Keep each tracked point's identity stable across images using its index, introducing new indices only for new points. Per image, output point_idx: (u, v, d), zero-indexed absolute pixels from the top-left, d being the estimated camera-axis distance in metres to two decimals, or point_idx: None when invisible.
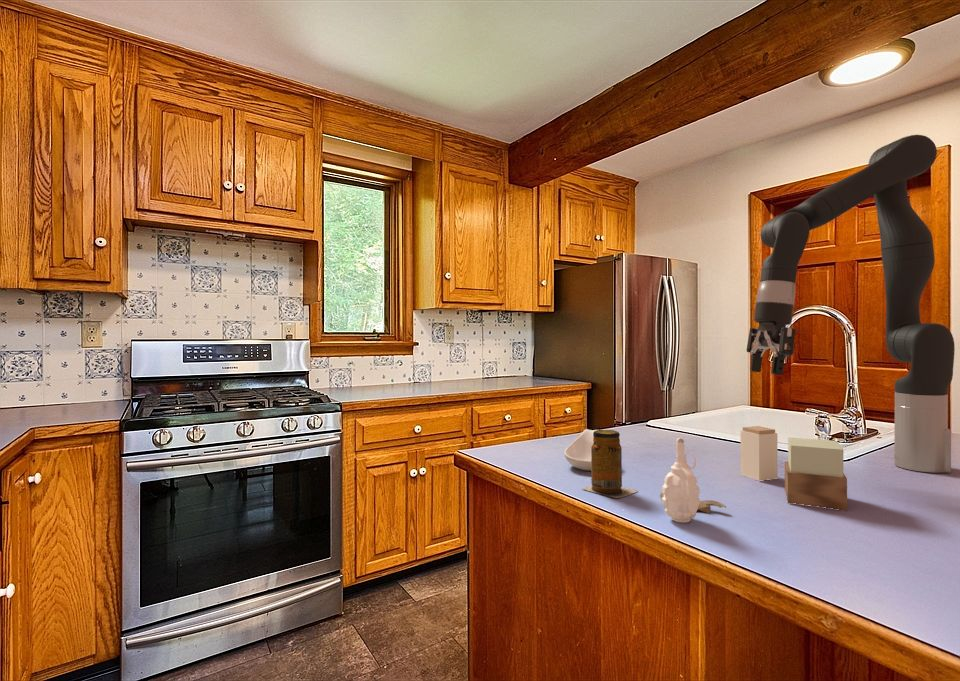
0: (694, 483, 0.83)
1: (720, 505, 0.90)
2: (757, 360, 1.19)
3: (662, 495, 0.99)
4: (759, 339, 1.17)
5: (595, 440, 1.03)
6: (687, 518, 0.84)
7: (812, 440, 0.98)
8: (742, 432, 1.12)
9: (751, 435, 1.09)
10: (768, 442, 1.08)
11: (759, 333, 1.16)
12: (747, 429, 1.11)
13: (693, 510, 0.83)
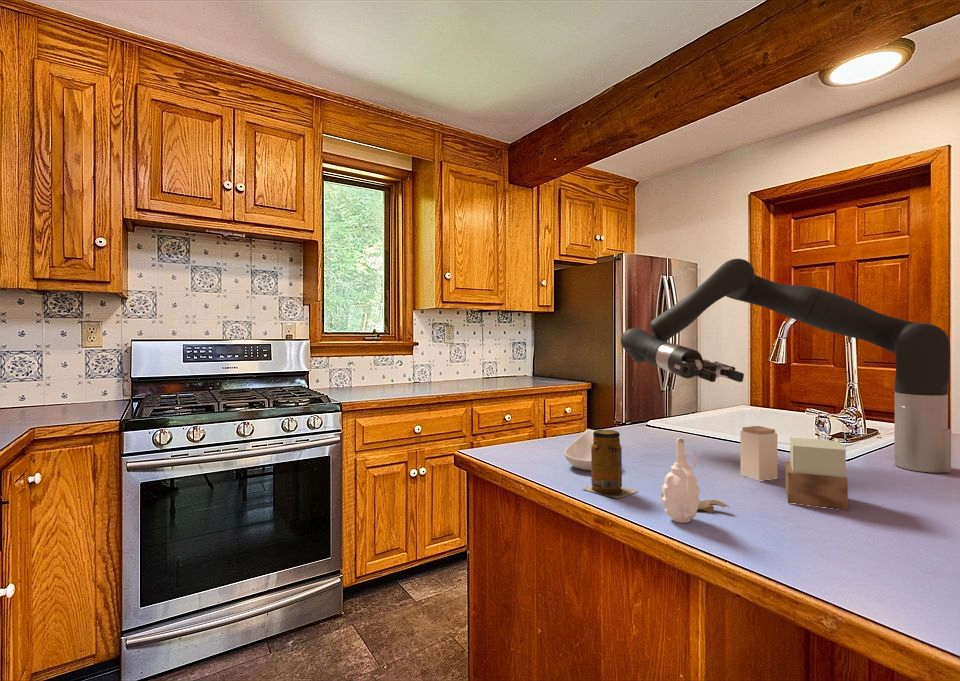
0: (694, 483, 0.83)
1: (723, 505, 0.90)
2: (731, 374, 1.20)
3: None
4: None
5: (595, 440, 1.03)
6: (687, 518, 0.84)
7: (814, 440, 0.98)
8: (742, 432, 1.12)
9: (751, 435, 1.09)
10: (768, 442, 1.08)
11: None
12: (747, 429, 1.11)
13: (693, 510, 0.83)
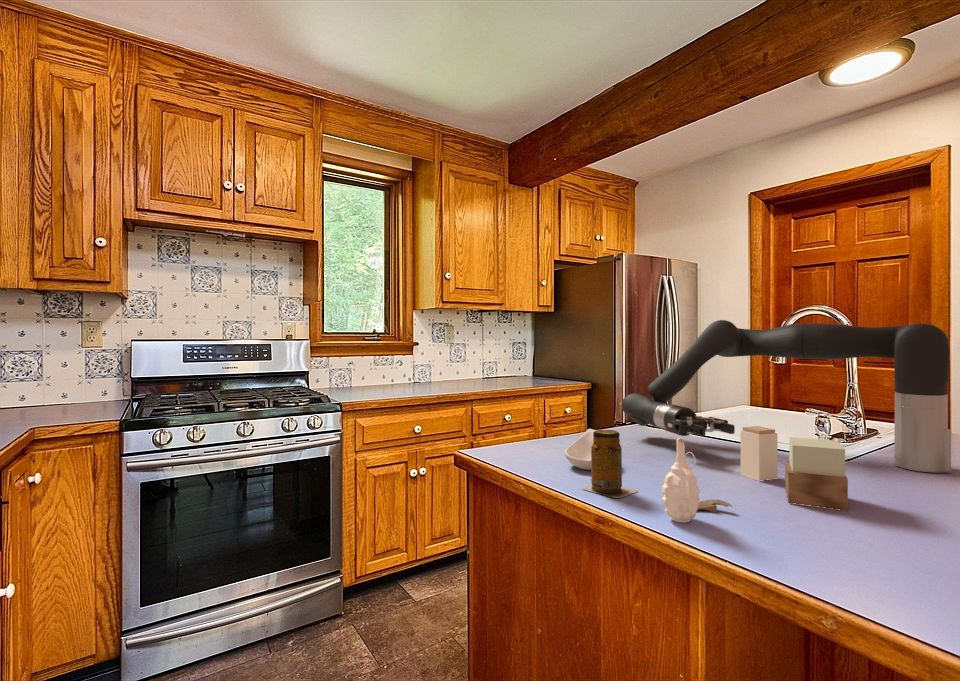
0: (694, 483, 0.83)
1: (726, 504, 0.90)
2: (723, 427, 1.25)
3: None
4: None
5: (595, 440, 1.03)
6: (687, 518, 0.84)
7: (813, 440, 0.98)
8: (742, 432, 1.12)
9: (751, 435, 1.09)
10: (768, 442, 1.08)
11: None
12: (747, 429, 1.11)
13: (693, 510, 0.83)
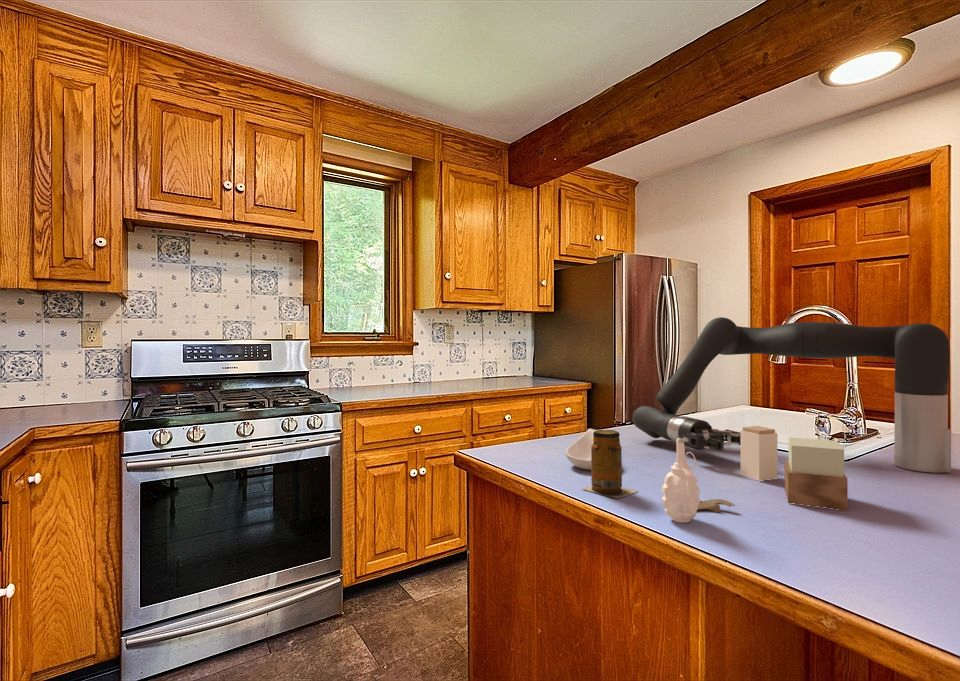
0: (694, 483, 0.83)
1: (729, 504, 0.90)
2: None
3: None
4: None
5: (595, 440, 1.03)
6: (687, 518, 0.84)
7: (812, 440, 0.98)
8: (742, 432, 1.12)
9: (751, 435, 1.09)
10: (768, 442, 1.08)
11: None
12: (747, 429, 1.11)
13: (693, 510, 0.83)
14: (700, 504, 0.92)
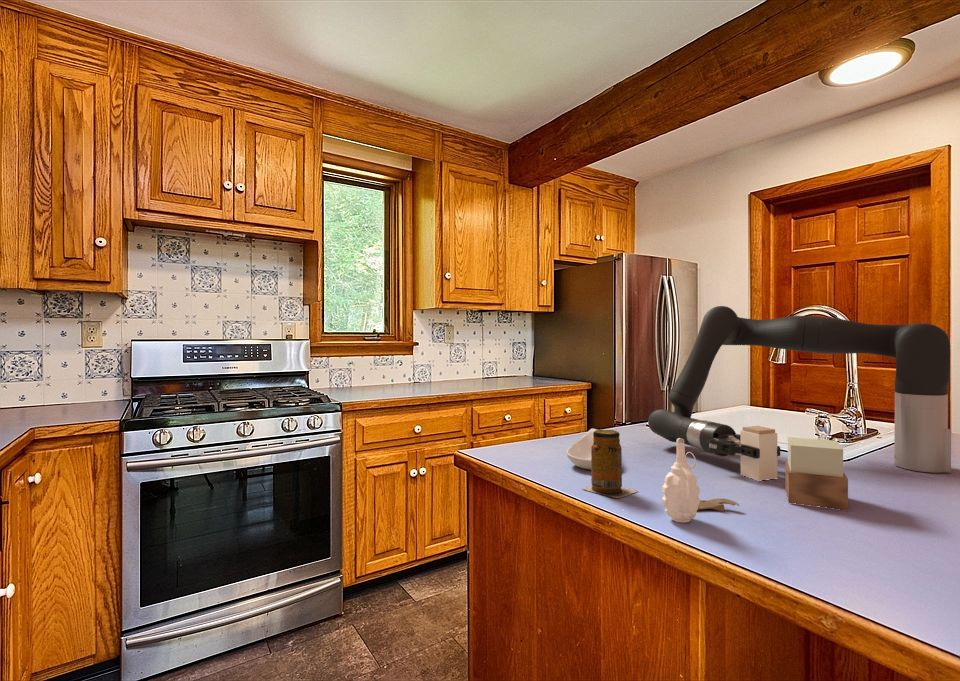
0: (694, 483, 0.83)
1: (733, 503, 0.91)
2: None
3: None
4: None
5: (595, 440, 1.03)
6: (687, 518, 0.84)
7: (812, 440, 0.98)
8: (742, 432, 1.12)
9: (751, 435, 1.09)
10: (768, 442, 1.08)
11: None
12: (747, 429, 1.11)
13: (693, 510, 0.83)
14: (704, 504, 0.92)
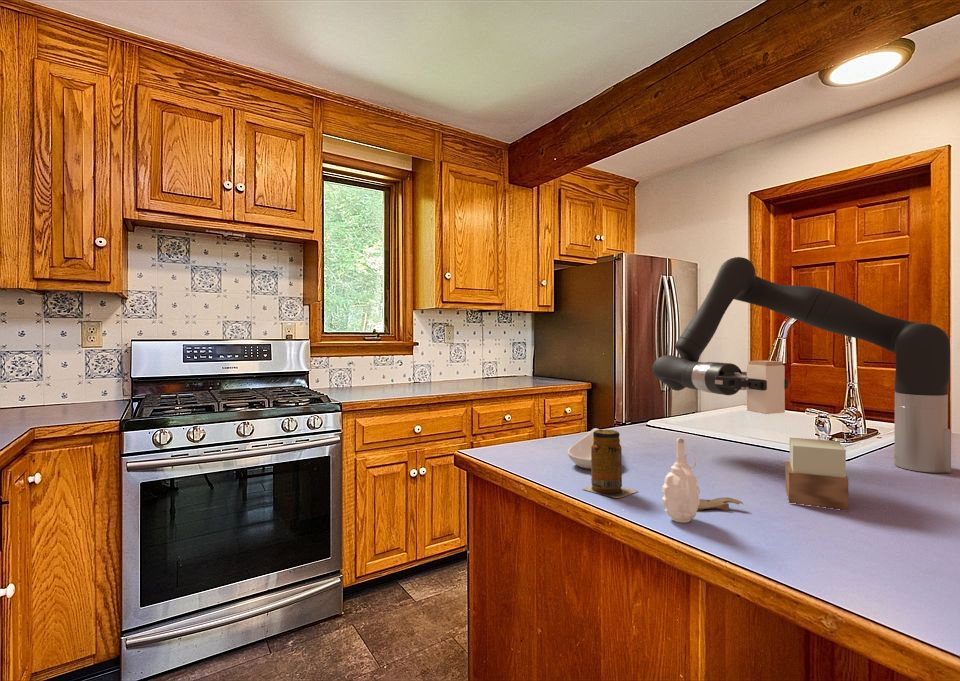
0: (694, 483, 0.83)
1: (737, 502, 0.91)
2: None
3: None
4: None
5: (595, 440, 1.03)
6: (687, 518, 0.84)
7: (814, 440, 0.98)
8: (748, 366, 1.09)
9: (758, 367, 1.07)
10: (775, 373, 1.06)
11: None
12: (753, 362, 1.08)
13: (693, 510, 0.83)
14: (709, 503, 0.92)
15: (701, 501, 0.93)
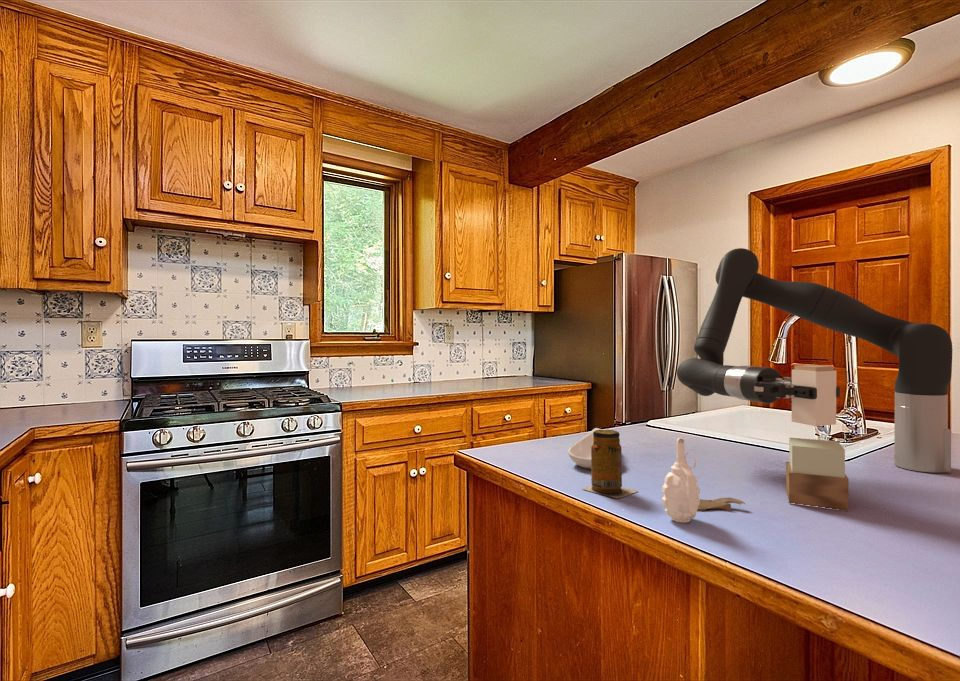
0: (694, 483, 0.83)
1: (739, 502, 0.91)
2: None
3: None
4: None
5: (595, 440, 1.03)
6: (687, 518, 0.84)
7: (813, 440, 0.98)
8: (794, 371, 0.97)
9: (806, 373, 0.94)
10: (826, 380, 0.93)
11: None
12: (800, 367, 0.96)
13: (693, 510, 0.83)
14: (711, 503, 0.92)
15: (703, 501, 0.93)
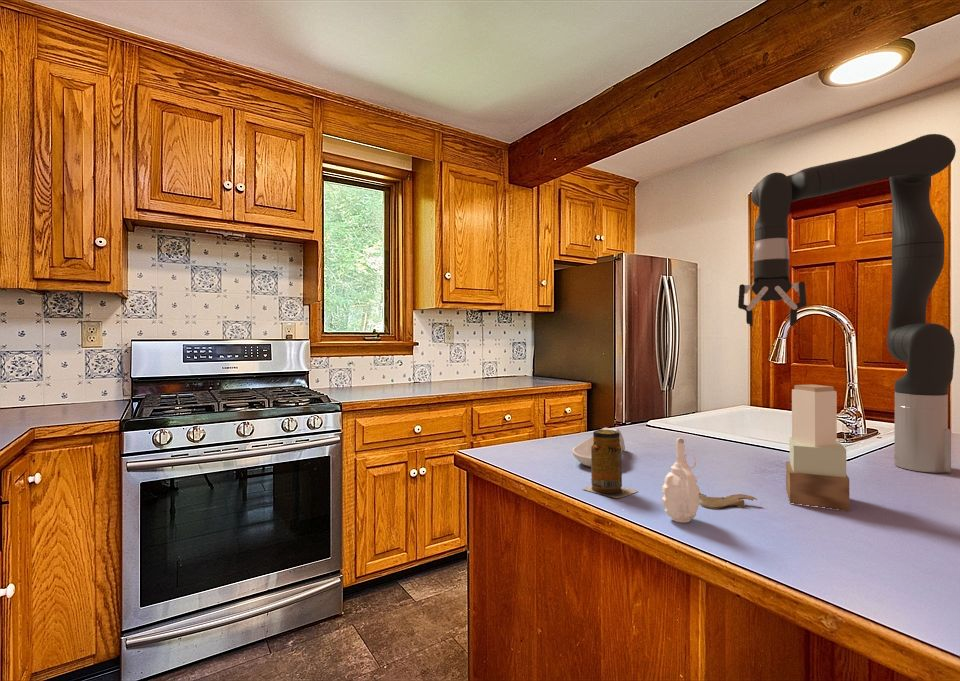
0: (694, 483, 0.83)
1: (751, 498, 0.93)
2: None
3: None
4: None
5: (595, 440, 1.03)
6: (687, 518, 0.84)
7: None
8: (794, 391, 0.97)
9: (805, 393, 0.94)
10: (826, 400, 0.93)
11: None
12: (800, 387, 0.96)
13: (693, 510, 0.83)
14: (725, 500, 0.94)
15: (716, 499, 0.94)
